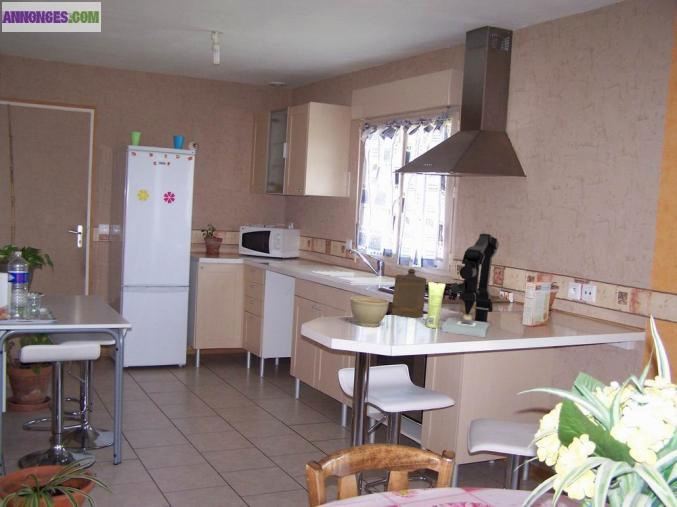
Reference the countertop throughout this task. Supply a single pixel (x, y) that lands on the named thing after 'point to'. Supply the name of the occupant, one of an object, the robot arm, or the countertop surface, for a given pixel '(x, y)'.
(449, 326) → the pale blue flat block
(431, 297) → the tube
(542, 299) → the cracker box
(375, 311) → the planter bowl
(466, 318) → the cream rounded piece
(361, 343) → the countertop surface
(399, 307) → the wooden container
